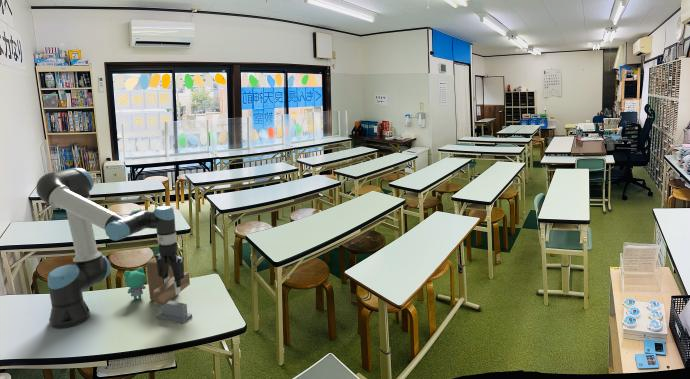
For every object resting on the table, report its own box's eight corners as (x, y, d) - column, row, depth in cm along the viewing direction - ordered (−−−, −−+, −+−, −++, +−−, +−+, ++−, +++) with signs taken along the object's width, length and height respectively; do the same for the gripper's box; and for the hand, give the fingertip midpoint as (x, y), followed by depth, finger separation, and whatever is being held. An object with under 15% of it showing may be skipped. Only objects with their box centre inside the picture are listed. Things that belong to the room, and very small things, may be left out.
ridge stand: (157, 317, 191) (155, 303, 190) (166, 311, 197) (165, 297, 195) (183, 323, 187) (181, 308, 185) (192, 316, 192) (191, 302, 191)
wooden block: (168, 302, 205) (164, 263, 200) (149, 300, 207) (145, 261, 202) (179, 293, 214) (176, 255, 210) (161, 291, 216) (158, 253, 212)
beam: (154, 304, 180) (153, 291, 178) (182, 283, 199) (180, 271, 197) (163, 305, 179) (161, 292, 178) (189, 284, 198) (188, 272, 197)
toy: (144, 292, 214) (141, 264, 211) (150, 298, 209) (147, 269, 205) (124, 298, 208) (121, 269, 205) (130, 304, 203) (126, 275, 199)
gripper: (144, 243, 183) (150, 293, 188) (178, 247, 177) (183, 299, 183) (157, 237, 190) (163, 286, 195) (190, 241, 184) (195, 291, 189)
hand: (173, 292), depth 189 cm, fingers closed on beam, 4 cm apart
